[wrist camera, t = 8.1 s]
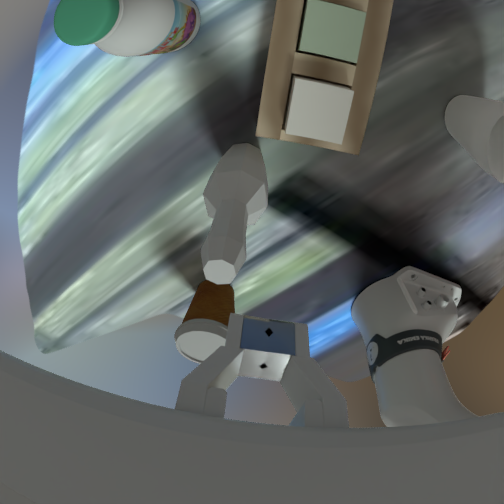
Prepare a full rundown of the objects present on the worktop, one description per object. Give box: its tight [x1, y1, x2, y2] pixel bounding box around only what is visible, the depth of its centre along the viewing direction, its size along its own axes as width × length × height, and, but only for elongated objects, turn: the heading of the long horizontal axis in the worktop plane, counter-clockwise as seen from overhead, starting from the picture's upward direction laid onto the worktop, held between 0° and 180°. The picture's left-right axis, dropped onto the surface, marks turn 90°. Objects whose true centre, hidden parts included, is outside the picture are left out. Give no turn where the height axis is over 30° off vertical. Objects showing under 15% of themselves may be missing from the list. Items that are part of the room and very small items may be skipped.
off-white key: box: [284, 75, 354, 145], centre depth 31 cm, size 6×6×4 cm
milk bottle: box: [54, 0, 200, 57], centre depth 21 cm, size 8×8×20 cm
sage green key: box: [296, 0, 366, 63], centre depth 26 cm, size 6×6×4 cm
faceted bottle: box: [200, 143, 268, 284], centre depth 31 cm, size 6×6×22 cm
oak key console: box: [256, 0, 393, 155], centre depth 27 cm, size 12×27×4 cm, turn 172°
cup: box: [445, 95, 504, 183], centre depth 28 cm, size 9×9×12 cm
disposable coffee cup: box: [174, 280, 235, 364], centre depth 49 cm, size 10×10×12 cm
